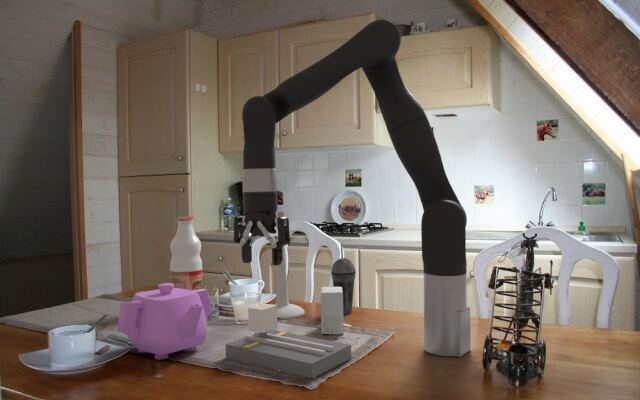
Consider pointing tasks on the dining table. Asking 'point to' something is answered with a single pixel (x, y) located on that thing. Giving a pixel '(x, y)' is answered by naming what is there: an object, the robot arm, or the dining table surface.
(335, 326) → the small box
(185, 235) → the fruit juice
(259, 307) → the fader tab
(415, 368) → the dining table surface
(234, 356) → the fader console
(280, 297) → the candlestick
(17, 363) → the dining table surface
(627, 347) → the dining table surface
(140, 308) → the teapot
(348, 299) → the beverage cup
